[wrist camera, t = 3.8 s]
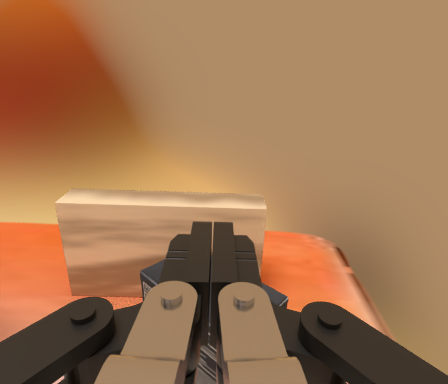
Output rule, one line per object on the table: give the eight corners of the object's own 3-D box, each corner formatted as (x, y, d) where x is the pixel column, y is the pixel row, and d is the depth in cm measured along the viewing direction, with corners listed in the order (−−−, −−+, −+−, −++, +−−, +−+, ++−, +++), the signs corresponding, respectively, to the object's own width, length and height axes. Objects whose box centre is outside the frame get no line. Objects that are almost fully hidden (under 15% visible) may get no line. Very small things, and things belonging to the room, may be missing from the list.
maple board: (257, 299, 37) (266, 209, 32) (72, 295, 36) (54, 202, 32) (254, 278, 40) (262, 194, 36) (85, 274, 40) (72, 188, 35)
